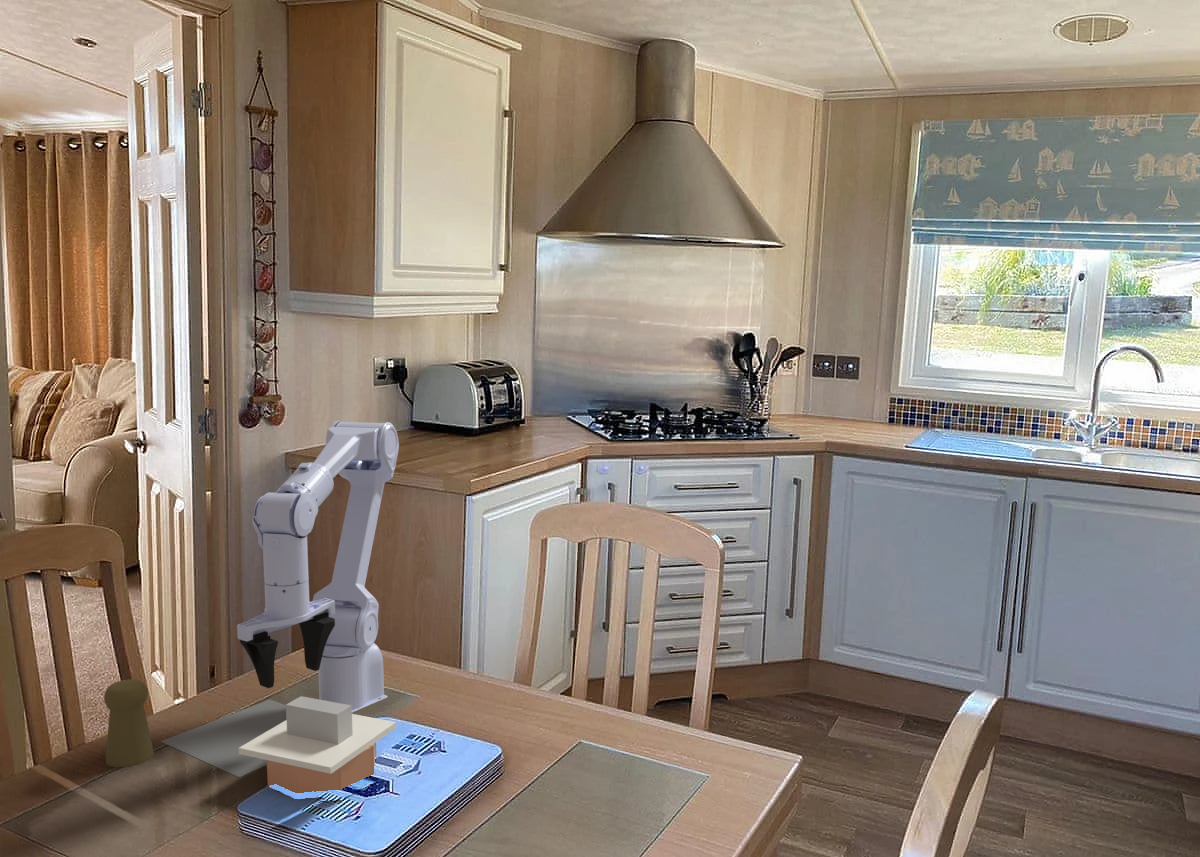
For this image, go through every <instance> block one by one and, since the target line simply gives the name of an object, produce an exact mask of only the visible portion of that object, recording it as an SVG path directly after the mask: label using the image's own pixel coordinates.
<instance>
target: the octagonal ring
mask: <svg viewBox="0 0 1200 857" xmlns="http://www.w3.org/2000/svg"><path fill="white" fill-rule="evenodd" d="M375 757H376V758H377V742H376V743H374V744H373V745H371V746H370V747H369V748H367V749H366V750H364V751H363V752H361V753H360V754H359V755H357V756H356V757H354V758H353V759H351V760H350V761H349V762H347V763H346V764H344V765H343V766H342V767H340V768H339V769H337V770H336V771H334V772H333V773H332V774H329V773H325V772H320V771H316V770H311V769H306V768H302V767H297V766H292V765H288V764H283V763H279V762H274V761H269V760H267V765H266V772H267V773H266V774H267V775H266V776H267V787H268V786H270V785H274V784H277V785H279V786H281V787H284V788H285V789H288V790H290V791H292V792H295V793H304V792H312V791H314V792H316V791H328V790H342V789H343V788H345V787H347V786H348V785H351V784H353V783H356V782H358V781H360V780H362V779H364V778H366V777H369V776H371V775H373V774H374V766H375V767H376V765H375Z"/></svg>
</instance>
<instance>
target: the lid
mask: <svg viewBox="0 0 1200 857" xmlns="http://www.w3.org/2000/svg"><path fill="white" fill-rule="evenodd" d="M285 705H286V719H287V720H286V721H284V722H282V723H280V724H279V725H277V726H275V727H274V728H272V729H270V730H268V731H267V732H265V733H263V734H262V735H260V736H258V737H256V738H255V739H253V740H251V741H250V742H248V743H246V744H244V745H243V746H241V747H239V754H242V755H246V756H251V757H255V758H260V759H265V760H269V761H274V762H279V763H283V764H288V765H292V766H297V767H302V768H306V769H311V770H316V771H320V772H325V773H329V774H332V773H333V772H334V771H336V770H337V769H339V768H340V767H342V766H343V765H344V764H346V763H347V762H349V761H350V760H351V759H353V758H354V757H356V756H357V755H359V754H360V753H361V752H363V751H364V750H366V749H367V748H369V747H370V746H371V745H373V744H374V743H376V744H377V742H378V741H381V739H383V738H384V737H385V736H387V735H389V734H390V733H392V732H393V731H394V730H395V729H397V722H396V721H392V720H387V719H382V718H376V717H371V716H364V715H360V714H355V713H353V712H352V705H346V704H341V703H335V702H330V701H325V700H319V698H318V699H317V698H312V697H307V696H302V695H301V696H299V697H297V698H295V699H293V700H292V701H290V702H288V703H287V704H285Z"/></svg>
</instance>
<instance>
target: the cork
mask: <svg viewBox="0 0 1200 857" xmlns="http://www.w3.org/2000/svg"><path fill="white" fill-rule="evenodd" d="M103 697H104V703H105V705H106V708H107V709H108V710H109V716H108V728H107V740H106V741H107V742H106V752H105V764H106V765H107V766H110V767H112V768H113V767H114V768H128V767H133V766H137V765H140V764H142V763H146V762H147V761H149V760H150V759H151V758H152V757H153V756H154V754H155V752H154V747H153V741H152V738H151V734H150V728H149V723H148V719H147V714H146V710H145V705H144V704H146V701H147V698H148V688H147V686H146V684H145V683H144V681H142V680H138V679H131V678H130V679H122V680H118V681H115V682H114V683H112V684H110V685H108V686H107V689H105V691H104V695H103Z"/></svg>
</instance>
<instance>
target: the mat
mask: <svg viewBox="0 0 1200 857" xmlns="http://www.w3.org/2000/svg"><path fill="white" fill-rule="evenodd" d="M286 720H287V719H286V704H283V703H281V702H278V701H276V700H273V699H268V700H265V701H262V702H259V703H257V704H254V705H252V706H249V707H247V708H244V709H241V710H239V711H236V712H233V713H230V714H228V715H225V716H223V717H220V718H218V719H215V720H212V721H211V722H208V723H205V724H203V725H201V726H200V725H199V726H197V727H195V728H192V729H190V730H187V731H184V732H181V733H179V734H176V735H173V736H171V737H168V738H166V739H163V740H161V741H160V743H162V744H165V745H167V746H168V747H171V748H174V749H175V750H177V751H180V752H183V754H186V755H188V756H191V757H193V758H195V759H198V760H200V761H202V762H204V763H207V764H208V765H211V766H213V767H215V768H218V769H219V770H222V771H224V772H225V773H229V774H231V775H232V776H235V777H237V778H242V777H244V776H246V775H248V774H251V773H253V772H255V771H257V770H260V769H262V768H265V767H267V760H265V759H260V758H255V757H251V756H246V755H242V754H239V747H241V746H243V745H244V744H246V743H248V742H250V741H251V740H253V739H255V738H256V737H258V736H260V735H262V734H263V733H265V732H267V731H268V730H270V729H272V728H274V727H275V726H277V725H279V724H280V723H282V722H284V721H286Z"/></svg>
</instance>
